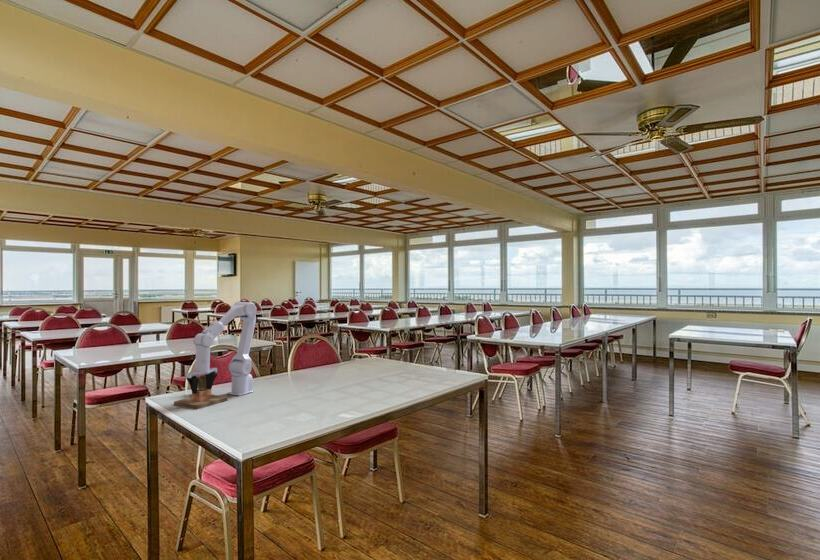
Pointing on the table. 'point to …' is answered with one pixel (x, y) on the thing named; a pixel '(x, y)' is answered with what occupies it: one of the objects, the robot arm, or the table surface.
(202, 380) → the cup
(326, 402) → the table surface
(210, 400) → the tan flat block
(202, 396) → the hollow wooden block
